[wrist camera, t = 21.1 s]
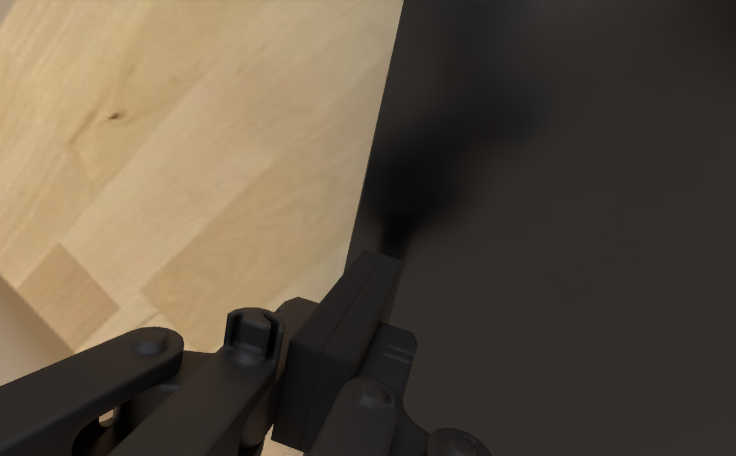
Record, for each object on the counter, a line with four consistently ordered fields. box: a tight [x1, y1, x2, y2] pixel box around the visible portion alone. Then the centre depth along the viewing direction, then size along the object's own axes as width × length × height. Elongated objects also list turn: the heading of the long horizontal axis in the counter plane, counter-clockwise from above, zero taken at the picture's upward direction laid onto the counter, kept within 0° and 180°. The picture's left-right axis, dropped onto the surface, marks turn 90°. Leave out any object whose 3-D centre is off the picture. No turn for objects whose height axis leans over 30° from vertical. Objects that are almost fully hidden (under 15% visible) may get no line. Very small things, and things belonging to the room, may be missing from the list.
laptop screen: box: [303, 0, 736, 456], centre depth 19 cm, size 22×31×1 cm
